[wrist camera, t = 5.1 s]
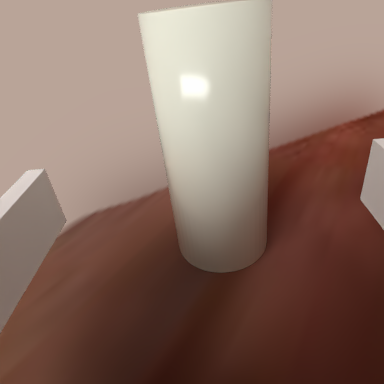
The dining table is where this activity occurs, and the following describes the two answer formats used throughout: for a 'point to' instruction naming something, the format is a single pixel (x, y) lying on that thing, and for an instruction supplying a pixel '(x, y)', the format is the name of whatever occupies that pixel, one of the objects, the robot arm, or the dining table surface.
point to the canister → (214, 124)
